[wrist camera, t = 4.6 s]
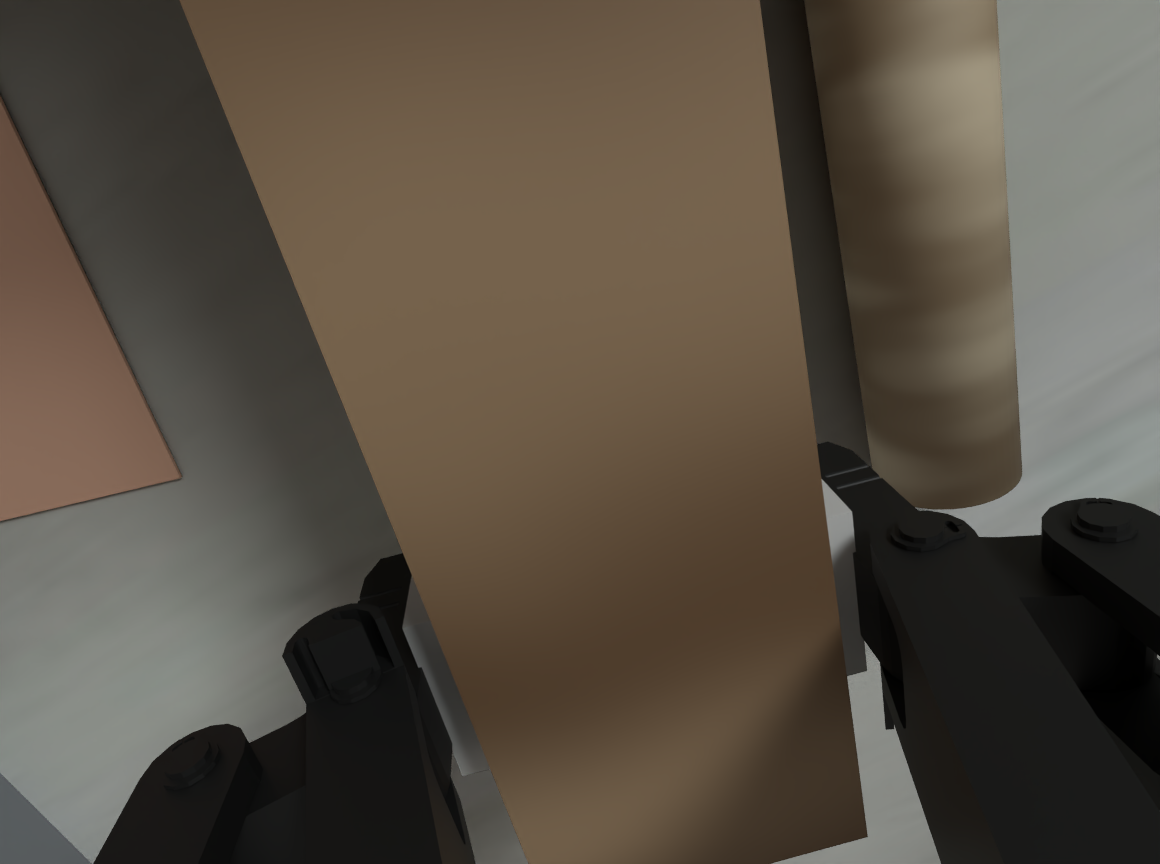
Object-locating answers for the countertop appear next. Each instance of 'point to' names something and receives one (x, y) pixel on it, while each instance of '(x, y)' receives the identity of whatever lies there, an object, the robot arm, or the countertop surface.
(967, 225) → the dowel
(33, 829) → the tee stick
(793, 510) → the natural wood brick
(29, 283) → the runner
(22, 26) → the countertop surface
